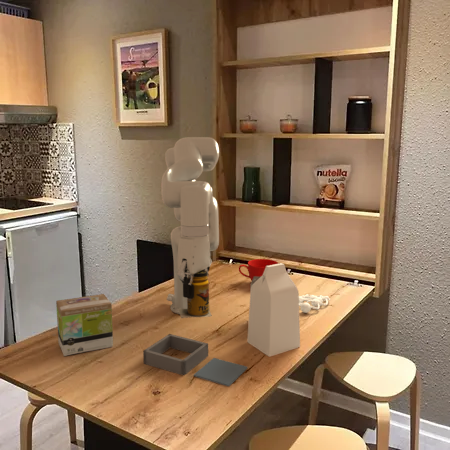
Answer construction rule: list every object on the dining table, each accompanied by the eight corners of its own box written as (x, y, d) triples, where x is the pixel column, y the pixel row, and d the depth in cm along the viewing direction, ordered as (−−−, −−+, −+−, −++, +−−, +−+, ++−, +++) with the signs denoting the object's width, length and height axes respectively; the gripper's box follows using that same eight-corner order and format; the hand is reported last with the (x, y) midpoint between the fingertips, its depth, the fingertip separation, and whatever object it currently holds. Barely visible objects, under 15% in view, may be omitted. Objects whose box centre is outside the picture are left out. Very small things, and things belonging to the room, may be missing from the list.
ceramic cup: (240, 279, 214) (240, 258, 212) (278, 281, 212) (279, 259, 210) (236, 289, 202) (237, 266, 199) (277, 291, 199) (278, 268, 197)
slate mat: (193, 376, 132) (193, 374, 132) (213, 359, 142) (213, 357, 142) (229, 386, 127) (229, 384, 127) (247, 368, 137) (247, 366, 137)
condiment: (212, 316, 131) (211, 273, 129) (181, 318, 130) (180, 275, 128) (208, 308, 138) (207, 267, 137) (178, 310, 137) (177, 268, 135)
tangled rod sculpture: (309, 297, 197) (308, 287, 196) (339, 303, 186) (339, 293, 186) (278, 308, 184) (277, 297, 183) (308, 315, 173) (308, 304, 173)
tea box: (63, 357, 143) (60, 310, 140) (58, 344, 152) (54, 299, 148) (114, 347, 150) (111, 302, 147) (106, 334, 158) (103, 292, 155)
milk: (269, 356, 144) (271, 273, 138) (247, 342, 153) (248, 263, 148) (300, 347, 150) (303, 266, 144) (277, 333, 159) (279, 257, 154)
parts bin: (143, 363, 139) (143, 350, 139) (169, 345, 150) (169, 333, 150) (184, 375, 133) (183, 362, 132) (208, 355, 144) (208, 343, 143)
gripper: (200, 223, 139) (201, 283, 143) (164, 235, 125) (165, 301, 128) (222, 226, 136) (222, 287, 139) (188, 238, 121) (189, 306, 125)
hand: (195, 293), depth 134 cm, fingers closed on condiment, 6 cm apart
